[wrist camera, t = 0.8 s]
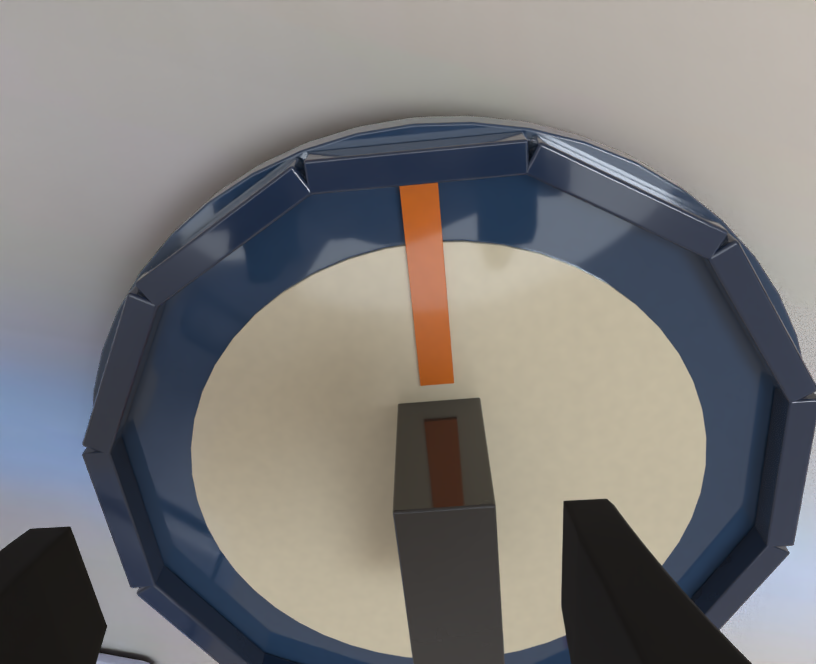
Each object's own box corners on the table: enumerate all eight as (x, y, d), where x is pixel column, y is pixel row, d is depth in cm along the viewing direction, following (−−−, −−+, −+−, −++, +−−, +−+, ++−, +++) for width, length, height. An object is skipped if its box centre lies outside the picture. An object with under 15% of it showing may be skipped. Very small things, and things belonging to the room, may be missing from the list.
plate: (752, 673, 23) (829, 837, 18) (192, 703, 24) (142, 865, 19) (852, 73, 15) (1030, 114, 10) (2, 157, 16) (-154, 226, 11)
